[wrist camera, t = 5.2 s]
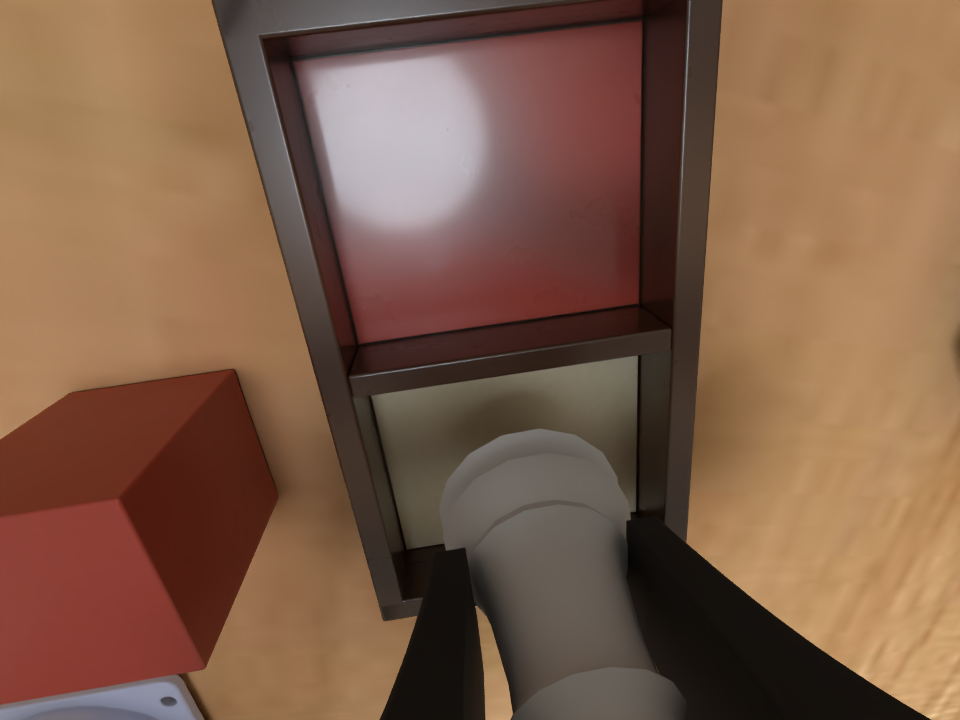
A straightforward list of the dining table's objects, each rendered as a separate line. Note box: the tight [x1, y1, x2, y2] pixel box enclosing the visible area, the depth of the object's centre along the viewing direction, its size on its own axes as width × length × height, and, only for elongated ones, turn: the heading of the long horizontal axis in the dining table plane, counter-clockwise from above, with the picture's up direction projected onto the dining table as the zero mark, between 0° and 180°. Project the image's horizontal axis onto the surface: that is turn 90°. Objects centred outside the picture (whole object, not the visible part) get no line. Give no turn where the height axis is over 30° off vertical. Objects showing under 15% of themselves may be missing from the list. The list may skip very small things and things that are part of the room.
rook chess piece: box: [439, 429, 686, 720], centre depth 9 cm, size 4×4×8 cm
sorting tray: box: [212, 0, 723, 621], centre depth 13 cm, size 15×9×2 cm, turn 7°
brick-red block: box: [0, 370, 278, 705], centre depth 12 cm, size 4×4×6 cm
